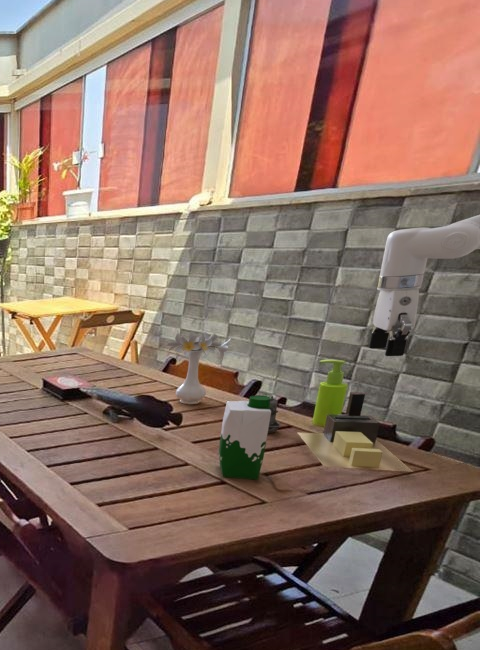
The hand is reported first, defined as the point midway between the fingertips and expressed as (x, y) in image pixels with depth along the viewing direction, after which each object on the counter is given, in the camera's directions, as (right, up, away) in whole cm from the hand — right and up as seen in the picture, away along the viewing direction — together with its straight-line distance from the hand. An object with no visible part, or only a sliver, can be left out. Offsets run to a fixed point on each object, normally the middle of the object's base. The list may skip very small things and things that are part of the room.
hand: (385, 351), depth 125 cm
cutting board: (-8, -26, +2) cm, 28 cm away
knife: (-3, -23, +7) cm, 24 cm away
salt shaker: (-16, -22, +19) cm, 33 cm away
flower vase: (-16, -10, +52) cm, 56 cm away
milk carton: (-38, -31, -1) cm, 49 cm away
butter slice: (-12, -29, -7) cm, 32 cm away
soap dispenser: (+1, -19, +19) cm, 27 cm away
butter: (-8, -26, +1) cm, 27 cm away
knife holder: (-3, -23, +7) cm, 24 cm away
